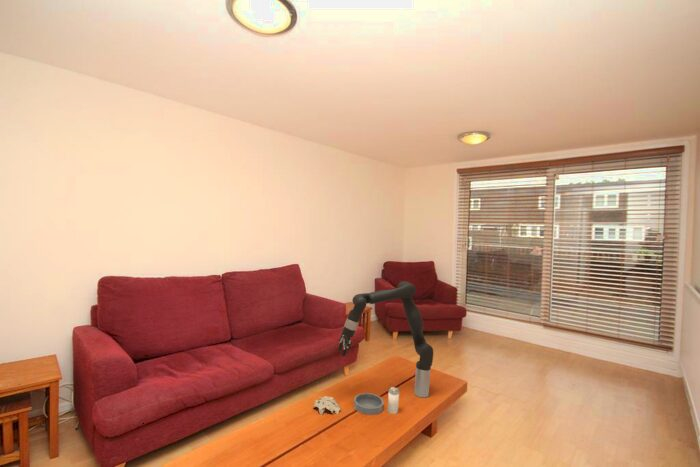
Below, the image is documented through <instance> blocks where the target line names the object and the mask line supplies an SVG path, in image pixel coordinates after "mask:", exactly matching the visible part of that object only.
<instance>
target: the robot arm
mask: <svg viewBox="0 0 700 467" xmlns="http://www.w3.org/2000/svg"><path fill="white" fill-rule="evenodd" d="M416 289H417V288H416V287H415V285H414V284H412V283H410V282H409V281H405V280H403V281H400V282H399V283H397V288H393V289H381V290H376V291H373V292H372V291H371V292H367V293H366V292H364V293H359V294H355V295H354V296H353V297H352V300H351V301H352V303H353V305H354V306H353V308H352V309H350V310H349V313H348V315H347V318H346V319H345V322H344V325H343V327H342V331H341V335H340V336H339V340H338V341H339V344H338V347H337V350H338V351H342V352H341V357H346V354H347V352H348V351H350V350H351V349H350V348H351V346H352V342H353V340H351V338H354V337H355V334H356V331H357V329H358V325H359V321H360V319H361V316H362V314H363V312H364V310H365V309H366V307H367V305H368V304H369V305H375V304H379V303H382V302H387V301H391V300H398V299H401V303H402V305H403V309H404V310H403V311H404V313H405V317H406V320H407V324H408V326H409V329H410V333H411V335H412V340H413V344H414V350H415V352H416V353H417V356H419V360H418V361H416V363H415V376H414V378H415V379H414V392H413V394H414V396H417V397H419V398H428V397H429V395H430V386H431V385H430V382H431V368H432V365H433V360H434V348H433V346H432V345H430V344H429V343H427V342H426V341H427V340H426V339H425V336H424V320H423V318H422V314H421V312H420V309H419V308H418V306H417V304H416V303H415V301H414V300H413V297H414V296H415V294H416V291H417V290H416Z"/></svg>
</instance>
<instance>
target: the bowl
mask: <svg viewBox="0 0 700 467" xmlns="http://www.w3.org/2000/svg"><path fill="white" fill-rule="evenodd" d="M353 407H355V408H354V409H355V410H356V411H357V412H358V413H360V414H362V415H368V416H373V415H378V414H379V415H380V413H382V412H383V411H384V399H383V397H381V396H380V395H377V394H375V393H369V392H364V393H359V394H357V395H355V396H354V399H353Z"/></svg>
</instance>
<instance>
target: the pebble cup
mask: <svg viewBox="0 0 700 467" xmlns="http://www.w3.org/2000/svg"><path fill="white" fill-rule="evenodd" d="M399 398H400V390H399V388H397V387H393V386H391V387H389V389H388V401H387V412H388V413H389V414H391V415H396V414H398V413H399V402H400V401H399V400H400V399H399Z"/></svg>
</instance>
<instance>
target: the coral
mask: <svg viewBox="0 0 700 467" xmlns="http://www.w3.org/2000/svg"><path fill="white" fill-rule="evenodd" d="M313 407H314V408H318V413H319V414H320V415H323V414H324V413H325V412H326V410H328V411H330V412H331V414H334V413H335V414H339V412H340V411H341V410H342V409H341V406H340V404H338V402H337V400H336V399H335V398H334V397H332V396H327V395H325V396H323V397H321V396H319V397H318V399H316V400H314V403H313Z"/></svg>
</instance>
